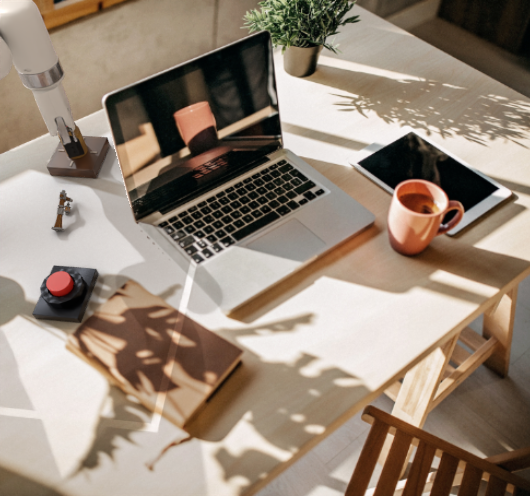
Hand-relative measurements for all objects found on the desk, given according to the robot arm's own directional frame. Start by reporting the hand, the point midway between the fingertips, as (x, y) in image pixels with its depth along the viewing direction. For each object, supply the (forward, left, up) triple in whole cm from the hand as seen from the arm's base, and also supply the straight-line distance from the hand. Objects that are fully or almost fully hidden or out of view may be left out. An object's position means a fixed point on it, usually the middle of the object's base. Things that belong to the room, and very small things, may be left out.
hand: (75, 146), depth 103 cm
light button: (+9, -33, -1) cm, 34 cm away
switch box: (+9, -33, -4) cm, 34 cm away
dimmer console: (0, 0, -4) cm, 4 cm away
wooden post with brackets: (+2, -16, -4) cm, 17 cm away
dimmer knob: (0, 0, -1) cm, 1 cm away
